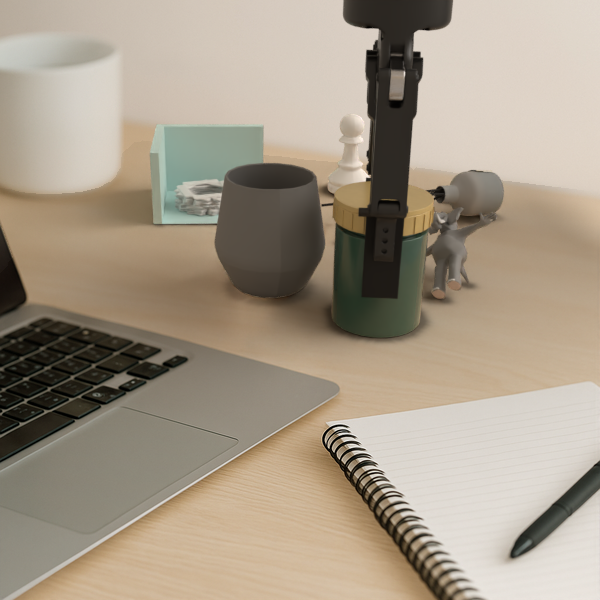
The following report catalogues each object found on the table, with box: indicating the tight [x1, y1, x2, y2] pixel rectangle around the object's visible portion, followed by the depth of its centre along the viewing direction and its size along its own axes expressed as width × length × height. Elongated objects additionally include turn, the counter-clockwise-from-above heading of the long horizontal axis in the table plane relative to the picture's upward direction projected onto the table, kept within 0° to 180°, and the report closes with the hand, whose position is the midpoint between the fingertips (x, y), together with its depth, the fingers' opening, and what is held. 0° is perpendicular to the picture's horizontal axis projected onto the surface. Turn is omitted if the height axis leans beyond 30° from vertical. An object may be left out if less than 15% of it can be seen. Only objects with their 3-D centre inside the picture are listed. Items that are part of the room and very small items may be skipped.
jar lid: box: [332, 181, 435, 236], centre depth 63 cm, size 8×8×2 cm
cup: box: [214, 162, 326, 299], centre depth 70 cm, size 10×9×10 cm
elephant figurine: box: [426, 207, 498, 300], centre depth 73 cm, size 10×6×9 cm
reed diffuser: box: [320, 169, 505, 217], centre depth 86 cm, size 10×7×20 cm
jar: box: [330, 222, 429, 339], centre depth 65 cm, size 7×7×10 cm
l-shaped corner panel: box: [149, 123, 265, 225], centre depth 90 cm, size 12×12×8 cm
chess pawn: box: [327, 113, 371, 195], centre depth 95 cm, size 5×5×9 cm
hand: (378, 273), depth 66 cm, fingers closed on jar lid, 7 cm apart
